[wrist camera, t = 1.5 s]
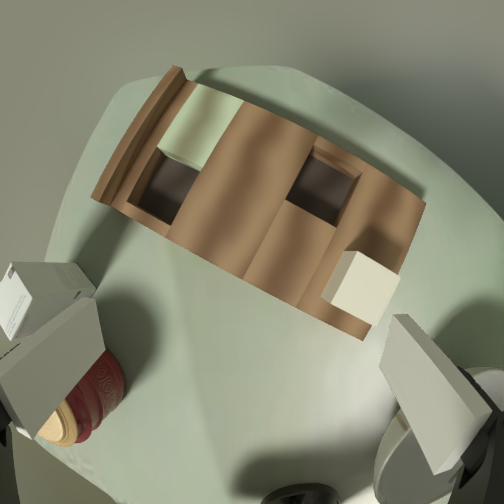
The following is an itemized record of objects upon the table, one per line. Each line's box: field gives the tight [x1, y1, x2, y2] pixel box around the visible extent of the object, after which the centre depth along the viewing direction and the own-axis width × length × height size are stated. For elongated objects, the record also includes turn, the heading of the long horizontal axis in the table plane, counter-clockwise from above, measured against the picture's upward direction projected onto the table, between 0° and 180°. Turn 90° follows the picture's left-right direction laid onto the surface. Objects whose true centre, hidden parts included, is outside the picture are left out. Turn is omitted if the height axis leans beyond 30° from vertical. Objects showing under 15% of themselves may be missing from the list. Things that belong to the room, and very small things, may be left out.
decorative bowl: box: [373, 367, 504, 504], centre depth 30 cm, size 27×27×12 cm
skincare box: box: [0, 262, 96, 341], centre depth 30 cm, size 8×6×15 cm
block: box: [320, 251, 401, 327], centre depth 30 cm, size 6×6×5 cm
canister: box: [37, 348, 125, 447], centre depth 29 cm, size 13×13×18 cm
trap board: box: [91, 66, 426, 341], centre depth 33 cm, size 38×20×7 cm, turn 62°
